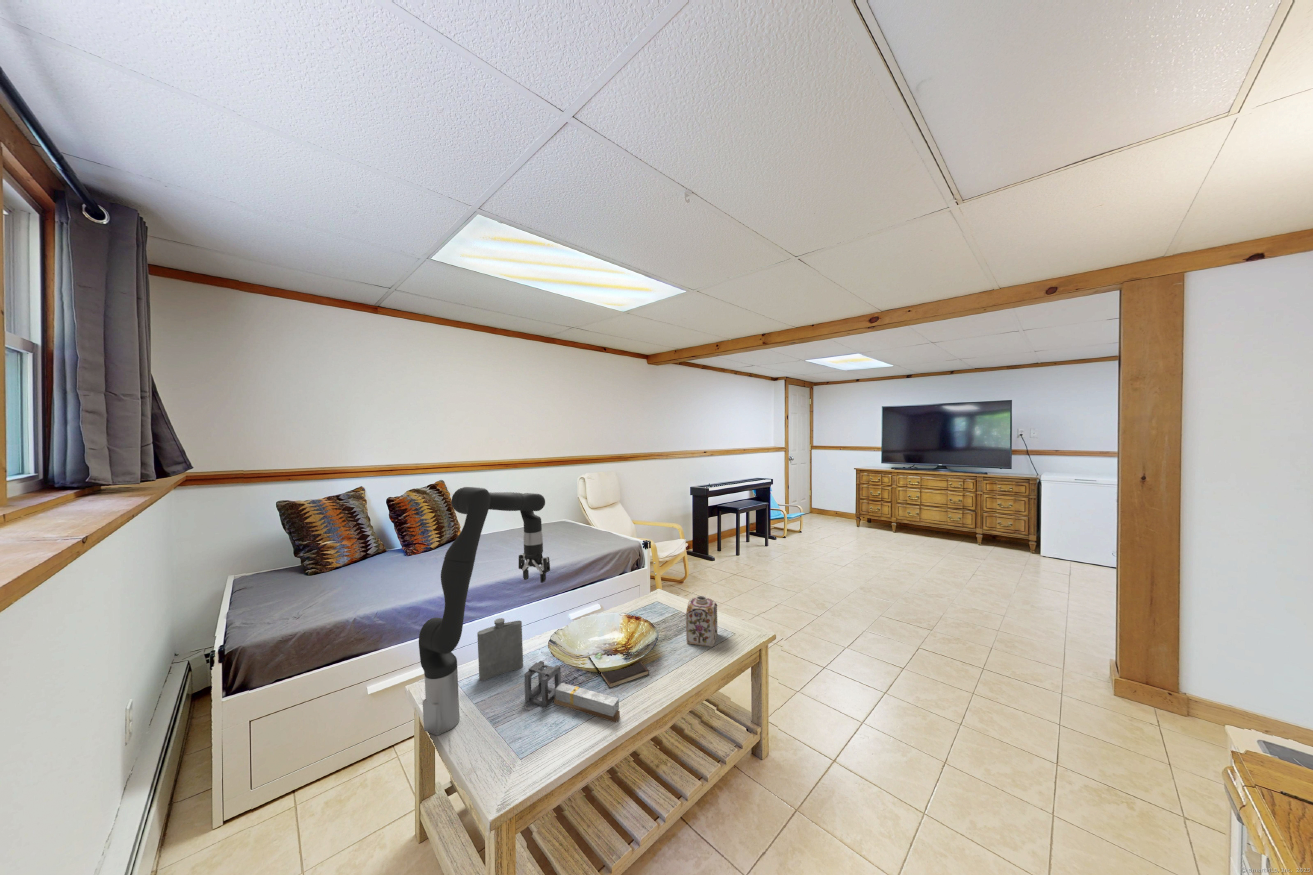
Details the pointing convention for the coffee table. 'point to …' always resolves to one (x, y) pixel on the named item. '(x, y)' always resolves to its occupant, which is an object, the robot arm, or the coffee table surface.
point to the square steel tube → (587, 699)
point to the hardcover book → (625, 674)
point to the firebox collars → (541, 683)
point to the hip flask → (500, 648)
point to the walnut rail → (588, 711)
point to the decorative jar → (701, 621)
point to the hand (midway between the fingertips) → (534, 580)
